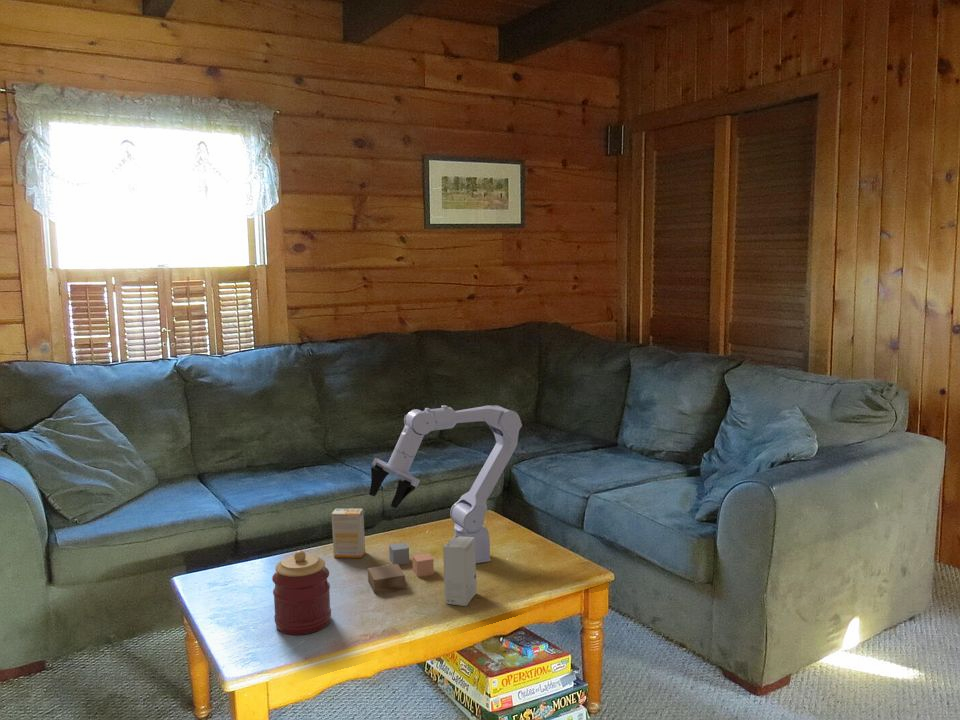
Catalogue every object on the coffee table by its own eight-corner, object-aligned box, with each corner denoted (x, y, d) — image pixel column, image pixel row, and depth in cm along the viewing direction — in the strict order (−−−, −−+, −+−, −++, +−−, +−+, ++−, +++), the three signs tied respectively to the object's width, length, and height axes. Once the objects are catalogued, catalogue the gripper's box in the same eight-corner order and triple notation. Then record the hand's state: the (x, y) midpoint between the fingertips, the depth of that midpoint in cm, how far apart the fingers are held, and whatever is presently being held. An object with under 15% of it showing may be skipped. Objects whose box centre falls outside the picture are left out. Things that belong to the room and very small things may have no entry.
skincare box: (466, 607, 196) (465, 548, 194) (443, 604, 198) (442, 546, 196) (477, 592, 204) (476, 536, 202) (454, 590, 206) (453, 534, 203)
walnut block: (398, 578, 214) (397, 563, 214) (405, 590, 207) (404, 575, 206) (368, 582, 212) (367, 568, 211) (374, 595, 204) (373, 580, 204)
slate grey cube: (405, 557, 227) (404, 542, 227) (409, 563, 223) (408, 547, 222) (389, 560, 226) (389, 544, 225) (393, 566, 222) (393, 550, 221)
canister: (265, 621, 190) (261, 549, 188) (316, 605, 198) (312, 536, 196) (289, 642, 180) (285, 566, 178) (341, 624, 188) (338, 552, 186)
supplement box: (365, 551, 232) (364, 508, 230) (361, 558, 227) (359, 513, 225) (337, 551, 233) (335, 507, 231) (333, 557, 228) (330, 513, 226)
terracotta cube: (429, 568, 219) (428, 552, 219) (433, 575, 215) (433, 558, 215) (412, 571, 218) (412, 555, 217) (417, 577, 214) (416, 561, 213)
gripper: (375, 440, 212) (353, 488, 211) (417, 461, 205) (395, 510, 204) (389, 445, 219) (368, 491, 217) (431, 465, 211) (409, 513, 210)
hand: (382, 501), depth 211 cm, fingers open, 7 cm apart
